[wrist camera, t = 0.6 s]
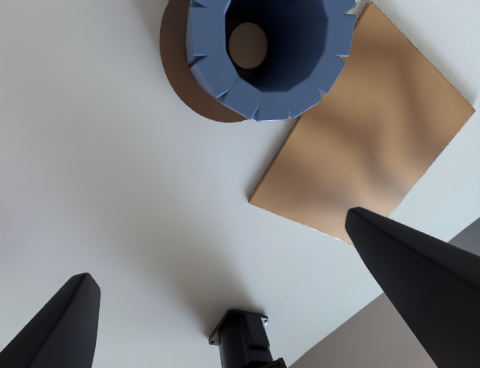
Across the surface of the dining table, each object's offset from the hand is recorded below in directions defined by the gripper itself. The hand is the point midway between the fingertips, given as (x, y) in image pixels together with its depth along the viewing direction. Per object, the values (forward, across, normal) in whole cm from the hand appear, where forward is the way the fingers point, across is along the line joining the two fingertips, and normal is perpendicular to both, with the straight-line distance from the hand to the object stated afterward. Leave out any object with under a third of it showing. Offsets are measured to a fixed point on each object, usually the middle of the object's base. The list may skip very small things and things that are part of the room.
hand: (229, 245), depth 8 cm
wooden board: (+14, -17, +6) cm, 23 cm away
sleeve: (+12, -3, -5) cm, 13 cm away
